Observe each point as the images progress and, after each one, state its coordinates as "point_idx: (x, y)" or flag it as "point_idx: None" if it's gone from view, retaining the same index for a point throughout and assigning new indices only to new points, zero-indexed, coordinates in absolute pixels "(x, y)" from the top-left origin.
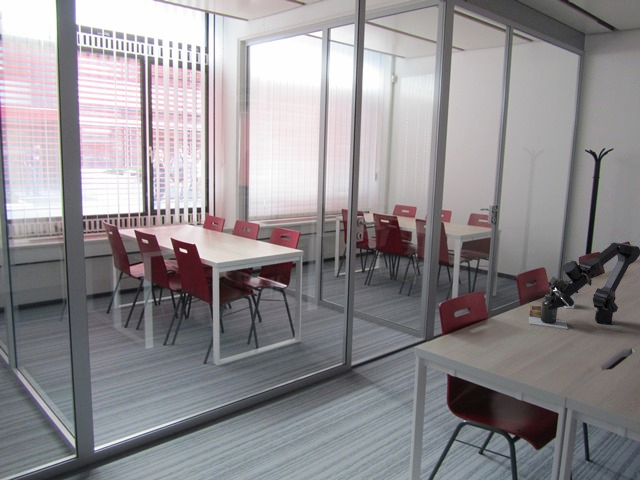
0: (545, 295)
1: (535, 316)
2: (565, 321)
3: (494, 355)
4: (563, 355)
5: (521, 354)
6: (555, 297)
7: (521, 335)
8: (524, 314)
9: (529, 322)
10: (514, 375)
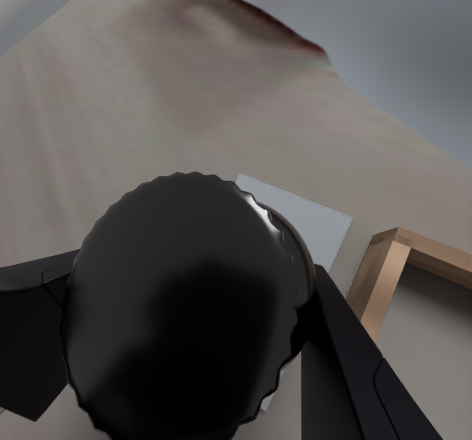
0: (216, 183)
1: (363, 263)
2: (261, 407)
3: (72, 39)
4: (20, 158)
5: (58, 80)
6: (69, 341)
7: (144, 111)
8: (418, 225)
9: (250, 178)
10: (13, 54)
